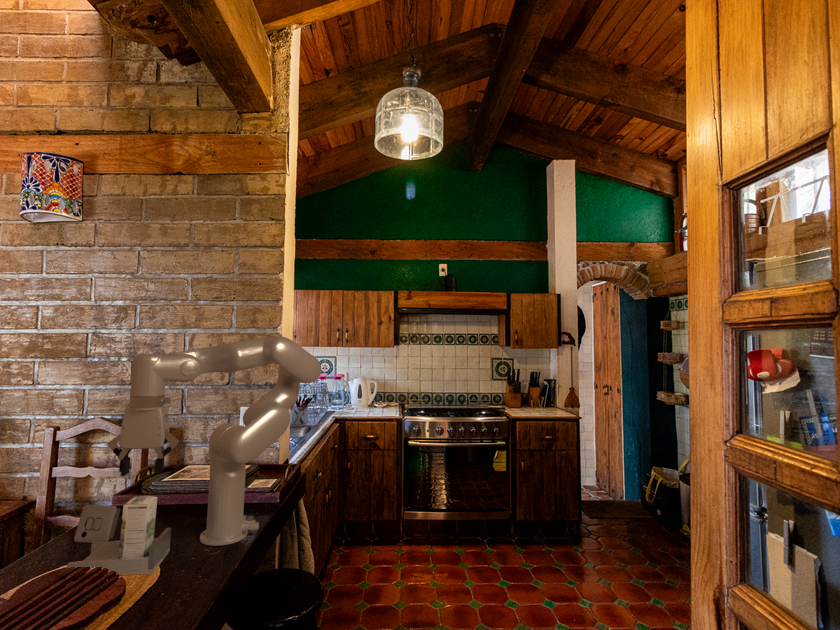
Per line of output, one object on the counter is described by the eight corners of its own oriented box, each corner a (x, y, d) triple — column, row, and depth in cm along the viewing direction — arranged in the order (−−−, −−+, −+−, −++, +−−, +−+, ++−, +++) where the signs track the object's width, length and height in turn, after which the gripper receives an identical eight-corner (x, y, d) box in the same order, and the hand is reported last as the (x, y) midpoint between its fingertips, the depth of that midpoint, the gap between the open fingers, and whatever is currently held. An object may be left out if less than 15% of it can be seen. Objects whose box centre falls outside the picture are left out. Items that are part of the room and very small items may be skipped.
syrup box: (127, 555, 110) (132, 496, 112) (153, 554, 112) (157, 495, 113) (117, 566, 105) (121, 504, 106) (144, 564, 106) (148, 503, 107)
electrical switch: (72, 542, 119) (78, 506, 121) (87, 536, 124) (93, 502, 126) (105, 544, 119) (110, 508, 120) (119, 538, 124) (124, 503, 125)
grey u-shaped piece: (169, 550, 116) (171, 527, 116) (152, 573, 104) (154, 547, 104) (92, 556, 112) (94, 531, 112) (65, 580, 100) (67, 553, 101)
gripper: (188, 400, 117) (183, 469, 116) (115, 400, 114) (109, 471, 112) (179, 404, 110) (174, 477, 109) (101, 404, 106) (94, 480, 105)
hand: (141, 473), depth 110 cm, fingers open, 6 cm apart
